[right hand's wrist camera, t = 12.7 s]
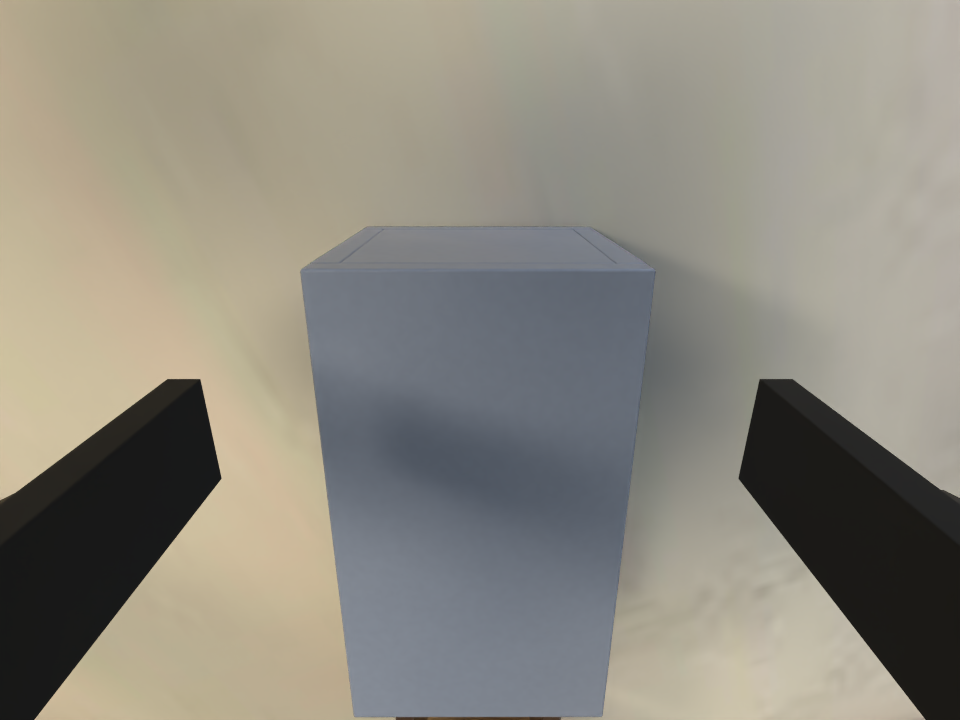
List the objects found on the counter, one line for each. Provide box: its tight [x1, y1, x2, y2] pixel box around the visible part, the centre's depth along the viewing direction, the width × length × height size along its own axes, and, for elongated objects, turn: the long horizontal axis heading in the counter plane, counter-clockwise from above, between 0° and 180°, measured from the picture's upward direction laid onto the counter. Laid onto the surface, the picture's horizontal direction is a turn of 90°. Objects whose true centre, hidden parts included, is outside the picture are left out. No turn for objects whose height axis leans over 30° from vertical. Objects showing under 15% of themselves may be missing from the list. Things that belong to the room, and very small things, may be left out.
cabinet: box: [300, 227, 655, 717], centre depth 22 cm, size 18×10×9 cm, turn 0°
